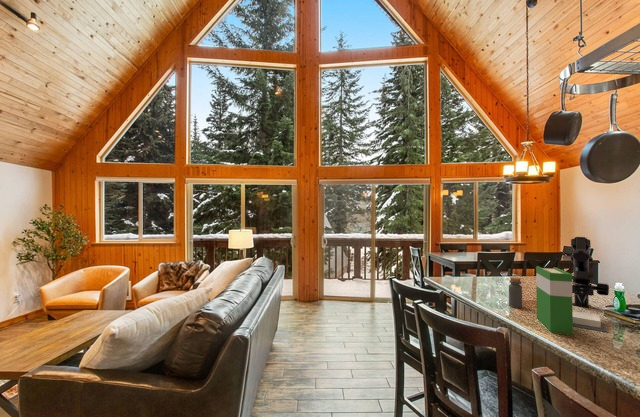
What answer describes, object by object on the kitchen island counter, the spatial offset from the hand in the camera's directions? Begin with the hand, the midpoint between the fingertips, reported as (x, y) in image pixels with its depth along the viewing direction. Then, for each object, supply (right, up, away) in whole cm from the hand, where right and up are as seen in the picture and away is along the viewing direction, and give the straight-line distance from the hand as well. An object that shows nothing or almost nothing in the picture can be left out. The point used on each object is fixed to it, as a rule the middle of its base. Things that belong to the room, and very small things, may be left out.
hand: (582, 302), depth 142 cm
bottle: (-19, -8, +19) cm, 28 cm away
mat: (-6, -7, -7) cm, 12 cm away
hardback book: (-20, -7, -10) cm, 24 cm away
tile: (-1, -5, -2) cm, 6 cm away
